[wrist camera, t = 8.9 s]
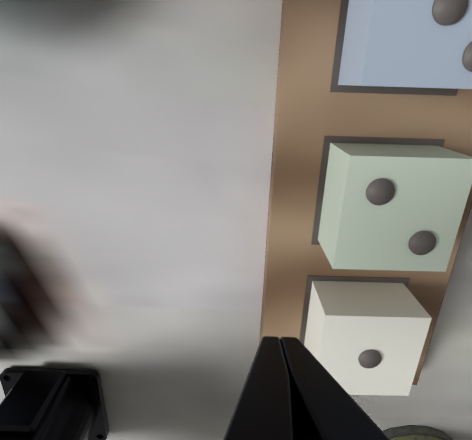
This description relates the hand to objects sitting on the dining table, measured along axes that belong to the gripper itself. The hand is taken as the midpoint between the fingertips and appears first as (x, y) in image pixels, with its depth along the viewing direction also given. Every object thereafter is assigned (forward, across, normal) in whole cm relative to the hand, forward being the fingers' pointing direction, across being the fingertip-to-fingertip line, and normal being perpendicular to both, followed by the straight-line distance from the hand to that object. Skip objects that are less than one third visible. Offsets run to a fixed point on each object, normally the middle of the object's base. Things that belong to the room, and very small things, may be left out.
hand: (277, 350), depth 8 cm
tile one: (+10, -6, +6) cm, 13 cm away
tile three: (+9, -6, -9) cm, 14 cm away
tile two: (+10, -6, -1) cm, 11 cm away
